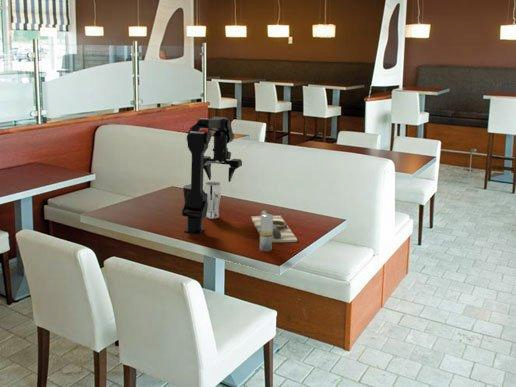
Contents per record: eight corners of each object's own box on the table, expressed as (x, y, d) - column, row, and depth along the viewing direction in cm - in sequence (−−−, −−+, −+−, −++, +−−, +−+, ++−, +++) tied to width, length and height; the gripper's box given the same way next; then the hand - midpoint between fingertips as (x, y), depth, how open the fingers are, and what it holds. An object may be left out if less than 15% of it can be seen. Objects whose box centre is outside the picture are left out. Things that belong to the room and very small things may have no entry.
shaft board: (297, 241, 223) (297, 232, 222) (264, 242, 221) (264, 233, 220) (280, 217, 254) (280, 209, 253) (251, 218, 252) (251, 209, 251)
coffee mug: (192, 204, 271) (192, 183, 268) (205, 207, 265) (206, 186, 263) (174, 208, 262) (174, 187, 259) (187, 212, 257) (187, 190, 254)
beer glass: (201, 217, 250) (201, 183, 247) (209, 213, 256) (210, 180, 253) (214, 220, 247) (215, 186, 243) (223, 216, 253) (223, 183, 249)
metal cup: (270, 252, 211) (271, 218, 208) (257, 250, 213) (258, 216, 209) (273, 247, 216) (274, 214, 213) (261, 246, 217) (262, 213, 214)
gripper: (246, 144, 256) (245, 179, 260) (207, 141, 261) (206, 175, 265) (238, 148, 245) (237, 184, 249) (197, 145, 250) (197, 180, 254)
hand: (219, 180), depth 255 cm, fingers open, 9 cm apart
